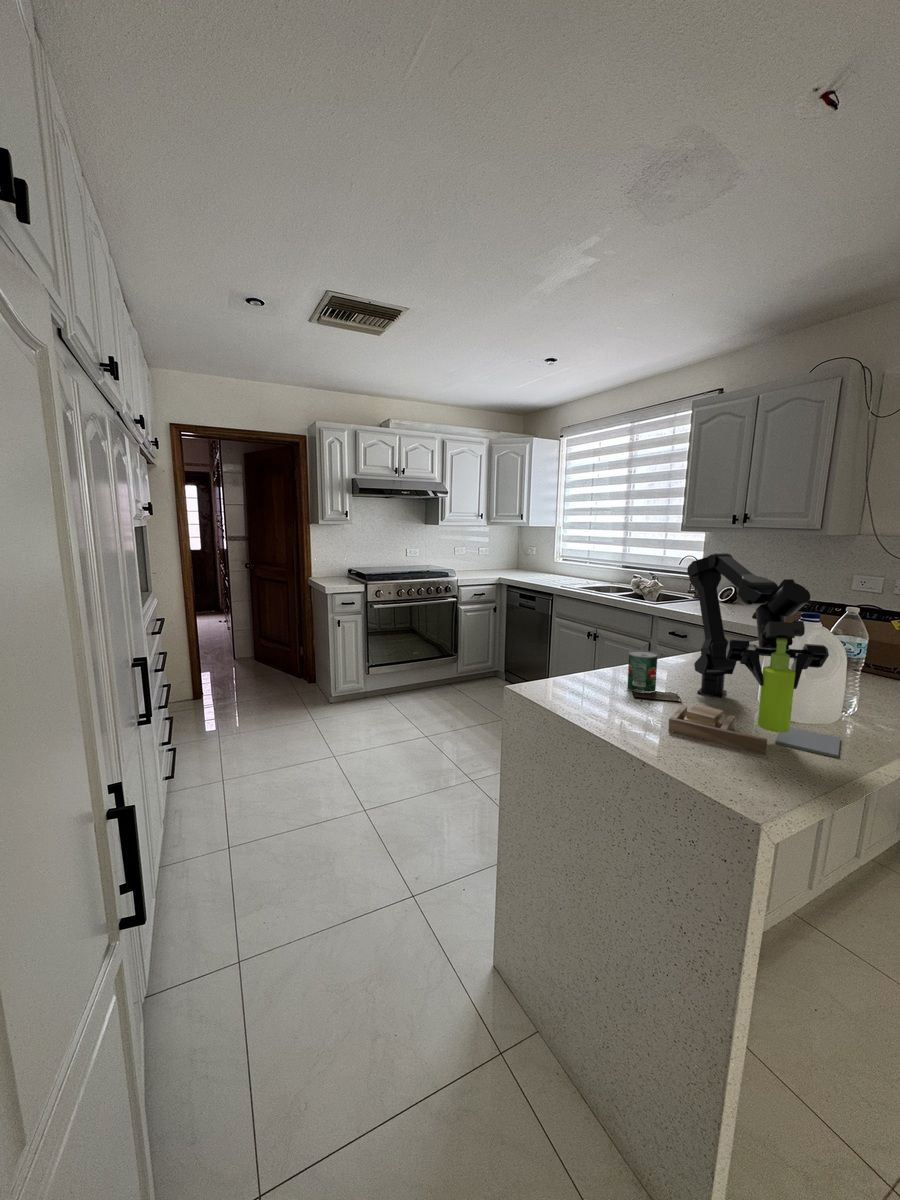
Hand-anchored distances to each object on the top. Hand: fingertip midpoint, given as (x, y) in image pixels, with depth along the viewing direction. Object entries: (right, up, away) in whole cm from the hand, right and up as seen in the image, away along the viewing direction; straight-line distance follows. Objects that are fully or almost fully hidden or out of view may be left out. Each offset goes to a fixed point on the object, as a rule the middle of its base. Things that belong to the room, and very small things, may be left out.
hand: (778, 686), depth 106 cm
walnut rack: (-8, -12, +8) cm, 17 cm away
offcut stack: (-11, -12, +10) cm, 19 cm away
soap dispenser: (+1, -9, +3) cm, 10 cm away
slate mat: (+9, -13, +3) cm, 16 cm away
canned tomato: (-15, -8, +39) cm, 42 cm away
